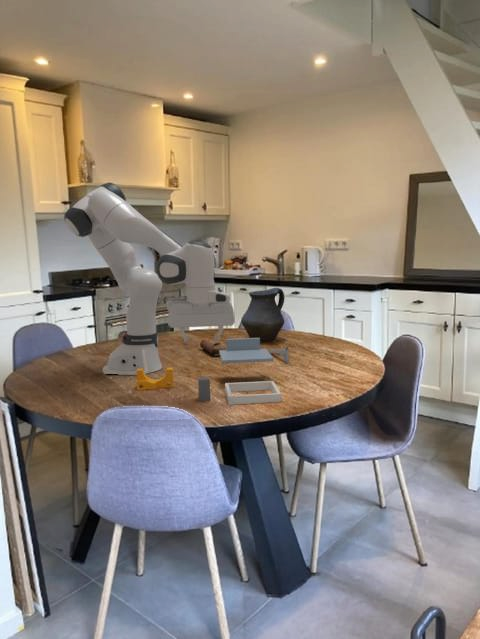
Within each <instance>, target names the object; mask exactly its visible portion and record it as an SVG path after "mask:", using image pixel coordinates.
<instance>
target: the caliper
mask: <svg viewBox="0 0 480 639" xmlns="http://www.w3.org/2000/svg"><path fill="white" fill-rule="evenodd" d="M289 350H290V349H289V347H288V346H284V348H281V349H274V348H271V349H269V350H268V351H269V353H270V354H278V355H280V357H283V362H284V363H286V364H288V363H289V362H290V352H289Z"/></svg>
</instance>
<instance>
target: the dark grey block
mask: <svg viewBox="0 0 480 639" xmlns="http://www.w3.org/2000/svg"><path fill="white" fill-rule="evenodd" d="M197 378H198V379H197V383H198V384H197V388H198V401H199V402H207V401H208V400H210V401H211V380H210V379H211V378H210V376H200V377H199V376H198V377H197Z"/></svg>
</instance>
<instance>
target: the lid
mask: <svg viewBox="0 0 480 639" xmlns="http://www.w3.org/2000/svg"><path fill="white" fill-rule="evenodd" d="M225 347H226V350H219V354H220V355H219V357H220V359H221V363H222V364H239V363H241V364H242V363H243V364H244V363H264V362H274V357H273V355H272V353H270V351H269V350H268V348H261V342H260V338H250V337H247V338H246V337H245V338H244V337H243V338H242V337H241V338H226V339H225Z"/></svg>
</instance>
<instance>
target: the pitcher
mask: <svg viewBox="0 0 480 639" xmlns="http://www.w3.org/2000/svg"><path fill="white" fill-rule="evenodd" d="M248 294H249V296H250V298H251V299H250V302H249V305H248V308H247V309H246V311H245V312H244V314H243V315H242V317H241V321H240V322H241V324H242V327H244V329H245V331H246V333H247V335H248V338H260V343H262V342H263V343H264V342H272V341H275V340H276V339H277V337H278V336H279V334H280V332H281V330H282V329H283V327H284V325H285V319H284V316H283V314H282V312H281V311H282V308H283V306H284V303H285V292H284V291H283V289H282V288H280V287H273V288H272V287H271V288H269V289H264V290H255V291H250V292H248ZM277 295H278V302H276V297H277Z"/></svg>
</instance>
